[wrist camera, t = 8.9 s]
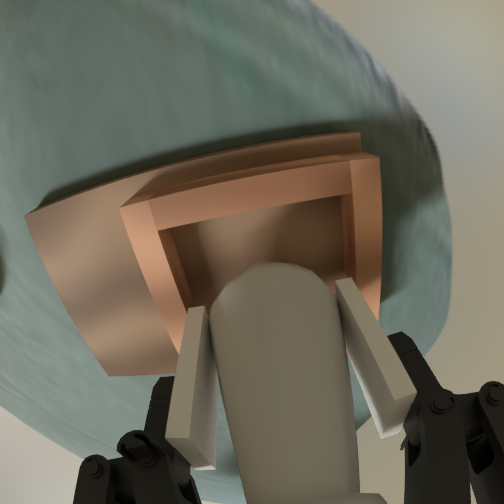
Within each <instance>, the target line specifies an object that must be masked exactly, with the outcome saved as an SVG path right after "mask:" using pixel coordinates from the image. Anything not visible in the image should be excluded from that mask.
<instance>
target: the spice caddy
mask: <svg viewBox="0 0 504 504" xmlns="http://www.w3.org/2000/svg"><path fill="white" fill-rule="evenodd" d="M25 219H26V222H27V225H28V227H29V230H30V232H31V235H32V238H33V240H34V243H35V245H36V247H37V250H38V252H39V254H40V257H41V259H42V261H43V263H44V266H45V268H46V270H47V272H48V274H49V276H50V278H51V281H52V283H53V285H54V287H55V289H56V291H57V293H58V294H59V296H60V298H61V300H62V302H63V304H64V306H65V308H66V309H67V311H68V313H69V315H70V317H71V318H72V320H73V322H74V324H75V325H76V327H77V329H78V330H79V332H80V334H81V335H82V337H83V339H84V340H85V342H86V343H87V345H88V346H89V348H90V350H91V351H92V353H93V354H94V356H95V357H96V359H97V360H98V362H99V363H100V365H101V366H102V368H103V369H104V370H105V372H106V373H107V375H108V376H136V375H155V374H169V373H176V368H177V363H178V357H179V352H180V347H181V342H182V337H183V332H184V327H185V322H186V317H187V313H188V308H192V307H199V306H205V308H206V311H207V314H208V317H209V320H210V310H211V307H212V304H213V302H214V301H215V299H216V298H217V296H218V295H219V293H220V292H221V290H222V289H223V287H224V286H225V284H226V283H227V282H228V281H230V280H232V279H233V278H235V277H237V276H238V275H240V274H241V273H243V272H244V271H245V270H246V269H247V268H248V267H249V266H250V265H252V264H253V263H254V262H255V261H268V262H282V263H294V264H296V265H299V266H301V267H304V268H306V269H309V270H311V271H313V272H314V273H315V274H316V275H317V276H318V277H319V278H320V279H321V280H322V281H323V282H324V283H325V284H326V285H327V286H328V287H329V288H330V289H331V290H332V291H333V293H334V294H335V296H336V291H335V281H336V280H341V279H346V278H350V277H351V278H352V280H353V281H354V283H355V284H356V286H357V288H358V289H359V291H360V292H361V294H362V296H363V297H364V299H365V301H366V302H367V304H368V305H369V307H370V309H371V310H372V312H373V314H374V315H375V317H376V319H377V320H378V317H379V305H380V292H381V273H382V190H381V172H380V158H379V157H377V156H374V155H371V154H369V153H366V152H363V151H362V143H361V134H360V132H355V131H341V132H332V133H323V134H315V135H308V136H300V137H294V138H287V139H281V140H274V141H268V142H263V143H257V144H252V145H246V146H241V147H236V148H231V149H227V150H222V151H217V152H213V153H208V154H204V155H200V156H195V157H191V158H187V159H183V160H179V161H175V162H172V163H168V164H164V165H160V166H157V167H153V168H150V169H146V170H143V171H139V172H136V173H133V174H129V175H126V176H123V177H120V178H117V179H114V180H110V181H107V182H104V183H101V184H99V185H96V186H93V187H90V188H87V189H84V190H81V191H79V192H76V193H73V194H71V195H68V196H65V197H63V198H60V199H58V200H55V201H53V202H50V203H48V204H45V205H43V206H40V207H38V208H36V209H34V210H33V211H31V212H29V213H28V214H26V215H25ZM346 352H347V351H346ZM347 357H348V353H347ZM218 381H219V380H218Z"/></svg>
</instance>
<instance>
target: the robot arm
mask: <svg viewBox="0 0 504 504" xmlns="http://www.w3.org/2000/svg"><path fill="white" fill-rule="evenodd" d="M335 291H336V300H337V304H338V308H339V312H340V316H341V321H342V327H343V333H344V339H345V346H346V351H347V353H348V356H349V358H350V360H351V363H352V365H353V368H354V370H355V373H356V376H357V378H358V381H359V383H360V386H361V388H362V391H363V394H364V396H365V399H366V401H367V404H368V407H369V409H370V412H371V415H372V417H373V420H374V423H375V426H376V428H377V431H378V434H379V437H380V439H384V438H387V437H390V436H393V435H396V434H398V433H400V431H401V429H402V427H404V430H405V432H406V437H405V439H404V440H403V442H402V444H401V449H400V450H403V449H404V447H405V493H404V504H471V494H470V483H471V486H472V489H473V492H474V495H475V498H476V502H477V504H504V385H503V384H501V383H500V382H496V381H491V382H487V383H485V384H484V385H483V386H482V387H481V389H480V391H479V392H475V393H469V394H459V395H458V394H453V393H452V392H451V391H449V390H446V389H443V388H442V387H441V386H440V384H439V382H438V381H437V379H436V377H435V376H434V374H433V372H432V371H431V369H430V367H429V366H428V364H427V362H426V361H425V359H424V358H423V357H422V354H421V353H420V351H419V350H418V348H417V346H416V345H415V343H414V342H413V340H412V338H410V337H409V336H407V335H406V334H404V333H403V332H402V331H401V332H398V333H395V334H392V335H388V336H386V334H385V332H384V331H383V329H382V327H381V325H380V324H379V322H378V320H377V319H376V317H375V315H374V314H373V312H372V310H371V309H370V307H369V305H368V304H367V302H366V301H365V299H364V297H363V296H362V294H361V292H360V291H359V289H358V288H357V286H356V284H355V283H354V281H353V280H352V278H351V277H350V278H346V279H341V280H336V281H335ZM217 405H218V375H217V370H216V365H215V360H214V355H213V350H212V344H211V339H210V320H209V317H208V314H207V311H206V308H205V306H199V307H192V308H188V313H187V317H186V322H185V327H184V332H183V337H182V342H181V347H180V352H179V357H178V363H177V368H176V374H175V376H170V377H160V378H159V380H158V381H157V383H156V384H155V386H154V387H153V391H152V395H151V400H150V404H149V409H148V413H147V418H146V423H145V428H144V431H142V430H133V431H131V432H128V433H126V434H125V435H124V436H123V437H121V439H120V440H119V442H118V444H117V451H118V452H119V453H120V454H121V455H122V456H123V457H120V458H115V459H111V460H107V459H106V458H105V457H103V456H101V455H98V454H96V455H90V456H88V457H86V458H85V459H84V461H83V462H82V464H81V466H80V469H79V474H78V479H77V484H76V489H75V495H74V501H73V504H202V503H201V500H200V497H199V494H198V491H197V488H196V484H195V481H194V479H193V477H192V475H190V466H192V467H193V468H194V469H195V470H216V439H217ZM244 495H245V494H244Z"/></svg>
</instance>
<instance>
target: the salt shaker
mask: <svg viewBox="0 0 504 504" xmlns="http://www.w3.org/2000/svg"><path fill="white" fill-rule="evenodd" d="M210 339H211V344H212V350H213V355H214V360H215V365H216V370H217V375H218V380H219V385H220V390H221V394H222V399H223V404H224V408H225V413H226V417H227V421H228V426H229V430H230V434H231V438H232V443H233V447H234V451H235V455H236V459H237V463H238V468H239V472H240V477H241V481H242V485H243V490H244V494H245V498H246V502H247V504H387V502H386V501H385V500H384V498H383V497H382V496H381V495H380V494H373V493H360V481H359V462H358V448H357V436H356V425H355V415H354V405H353V397H352V389H351V381H350V373H349V366H348V359H347V352H346V346H345V339H344V333H343V327H342V321H341V316H340V312H339V308H338V304H337V300H336V296H335V294H334V293H333V291H332V290H331V289H330V288H329V287H328V286H327V285H326V284H325V283H324V282H323V281H322V280H321V279H320V278H319V277H318V276H317V275H316V274H315V273H314V272H313V271H311V270H309V269H306V268H304V267H301V266H299V265H296V264H294V263H282V262H268V261H255V262H254V263H253V264H252V265H250V266H249V267H248V268H247V269H246V270H245V271H244V272H243V273H241V274H240V275H238V276H237V277H235V278H233V279H232V280H230V281H228V282H227V283H226V284H225V286H224V287H223V289H222V290H221V292H220V293H219V295H218V296H217V298H216V299H215V301H214V302H213V304H212V307H211V310H210Z"/></svg>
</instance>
